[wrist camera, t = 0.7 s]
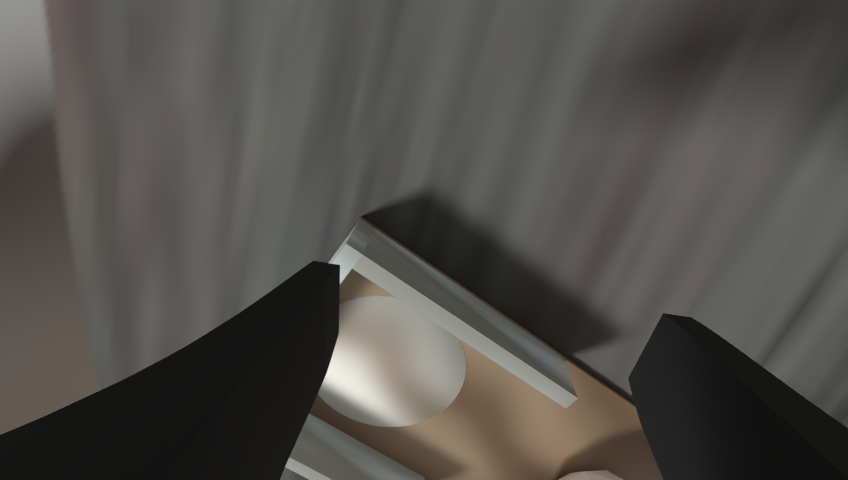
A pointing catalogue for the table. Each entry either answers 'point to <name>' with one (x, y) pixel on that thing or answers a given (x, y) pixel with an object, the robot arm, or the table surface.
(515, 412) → the pen board
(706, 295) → the table surface
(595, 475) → the geometric ball
